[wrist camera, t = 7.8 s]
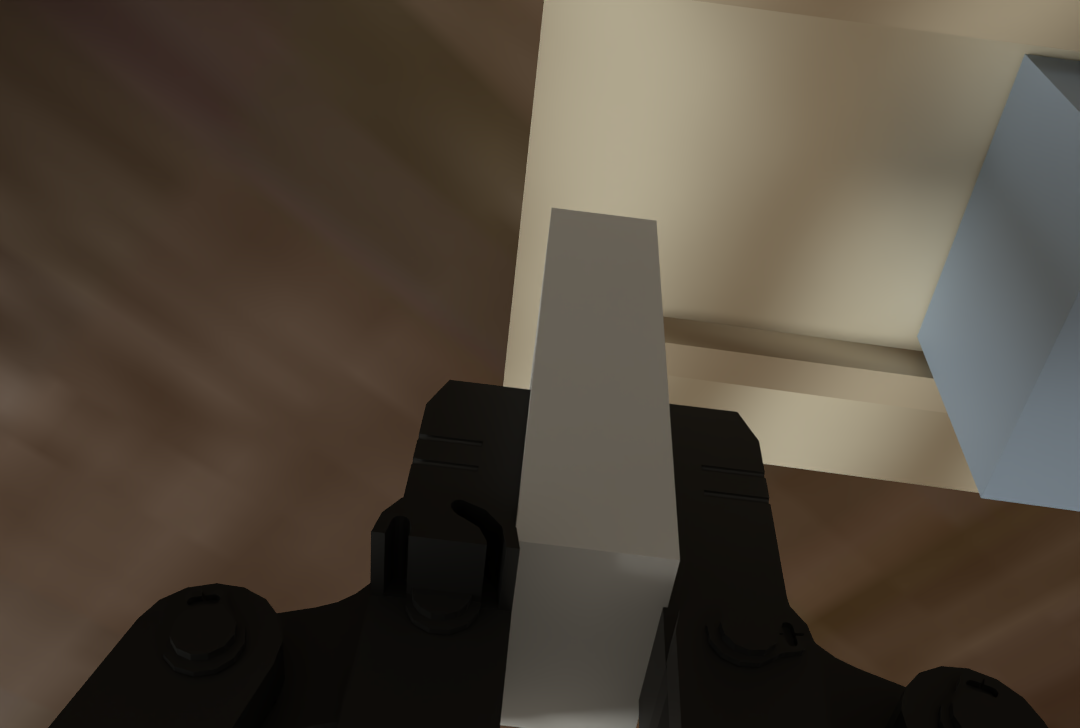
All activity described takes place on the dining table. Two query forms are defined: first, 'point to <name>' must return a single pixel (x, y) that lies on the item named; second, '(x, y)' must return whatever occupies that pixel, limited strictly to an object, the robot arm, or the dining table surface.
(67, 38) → the dining table surface
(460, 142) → the dining table surface
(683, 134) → the board
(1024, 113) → the carriage
